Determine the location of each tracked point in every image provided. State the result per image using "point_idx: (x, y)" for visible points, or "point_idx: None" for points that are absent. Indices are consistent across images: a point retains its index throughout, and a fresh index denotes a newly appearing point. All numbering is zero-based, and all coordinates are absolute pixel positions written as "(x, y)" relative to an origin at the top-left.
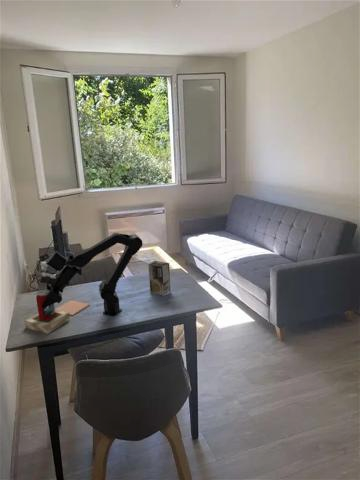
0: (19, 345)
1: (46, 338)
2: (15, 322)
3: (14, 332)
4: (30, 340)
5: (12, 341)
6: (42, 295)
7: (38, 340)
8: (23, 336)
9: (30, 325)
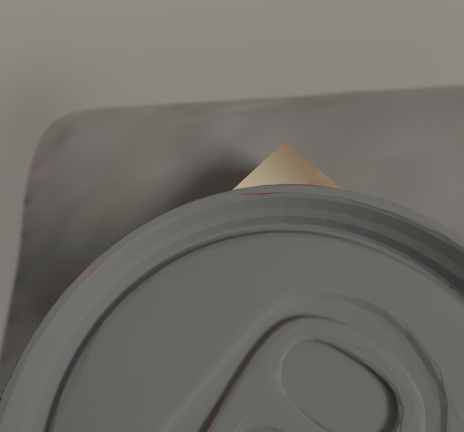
0: (33, 158)
1: (23, 340)
2: (421, 88)
3: (239, 105)
4: (60, 223)
5: (111, 111)
6: (5, 406)
7: (27, 279)
8: (145, 171)
9: None
